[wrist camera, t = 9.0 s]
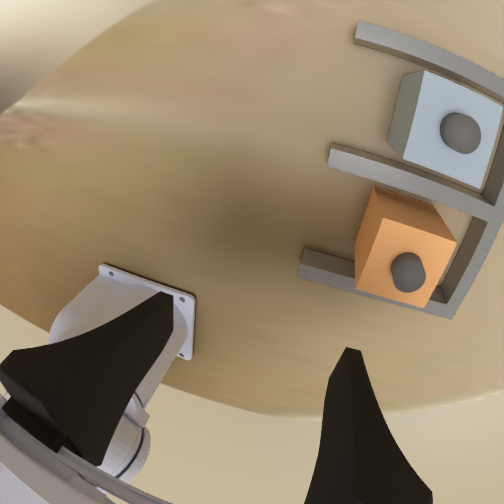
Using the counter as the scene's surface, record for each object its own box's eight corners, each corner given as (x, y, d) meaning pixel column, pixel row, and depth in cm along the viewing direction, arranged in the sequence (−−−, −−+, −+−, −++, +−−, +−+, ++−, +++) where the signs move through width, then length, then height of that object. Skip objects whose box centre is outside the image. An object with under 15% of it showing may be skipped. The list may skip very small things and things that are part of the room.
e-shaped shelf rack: (301, 260, 21) (296, 277, 19) (356, 27, 13) (357, 20, 12) (445, 301, 19) (451, 319, 18) (523, 99, 12) (539, 101, 10)
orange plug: (354, 243, 19) (355, 301, 14) (373, 185, 17) (385, 226, 12) (410, 260, 19) (426, 320, 14) (432, 205, 17) (463, 252, 12)
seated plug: (386, 140, 16) (407, 164, 11) (402, 75, 14) (430, 68, 9) (447, 163, 15) (487, 196, 10) (464, 100, 13) (513, 109, 8)
